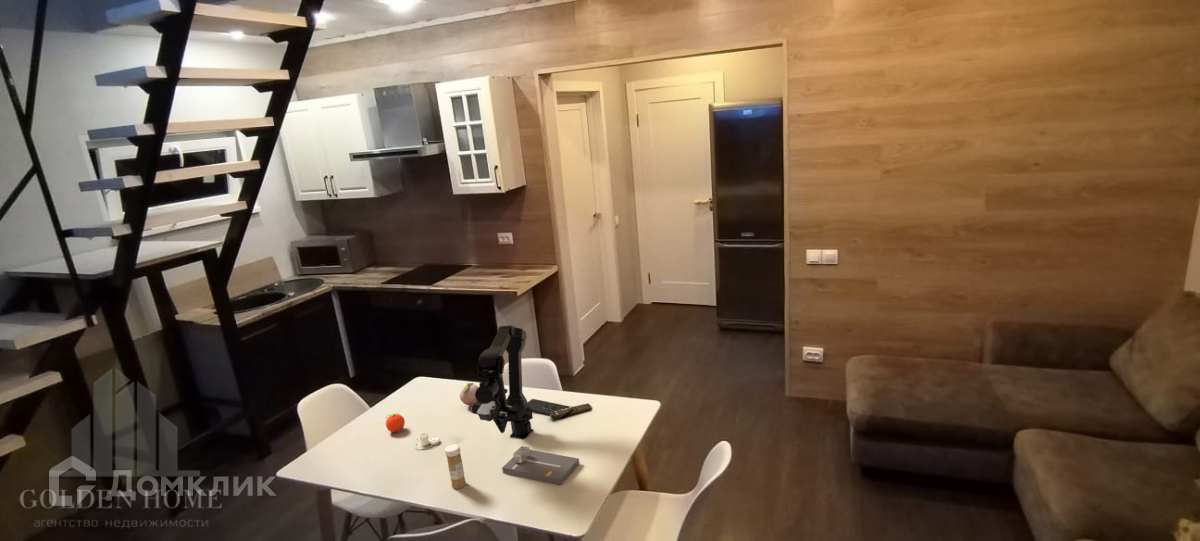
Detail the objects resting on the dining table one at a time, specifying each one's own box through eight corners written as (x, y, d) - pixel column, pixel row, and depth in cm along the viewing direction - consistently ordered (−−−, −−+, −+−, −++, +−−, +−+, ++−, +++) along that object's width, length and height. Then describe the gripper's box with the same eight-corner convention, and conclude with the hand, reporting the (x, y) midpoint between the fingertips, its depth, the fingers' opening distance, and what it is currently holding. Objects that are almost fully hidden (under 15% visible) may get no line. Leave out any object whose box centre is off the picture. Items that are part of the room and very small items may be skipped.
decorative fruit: (480, 409, 235) (476, 387, 232) (460, 411, 235) (456, 389, 232) (484, 399, 244) (481, 377, 241) (465, 401, 244) (461, 379, 242)
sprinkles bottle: (449, 486, 184) (441, 448, 181) (460, 479, 188) (453, 442, 184) (457, 491, 181) (450, 453, 178) (469, 483, 185) (462, 446, 181)
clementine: (381, 434, 223) (378, 417, 221) (394, 425, 229) (390, 409, 228) (398, 436, 220) (394, 419, 218) (410, 427, 226) (406, 410, 225)
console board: (503, 472, 188) (502, 467, 188) (523, 453, 199) (522, 447, 198) (561, 485, 178) (560, 479, 178) (579, 463, 189) (578, 458, 188)
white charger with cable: (443, 441, 213) (441, 431, 213) (428, 453, 207) (426, 442, 206) (424, 438, 217) (423, 428, 216) (410, 449, 210) (408, 439, 209)
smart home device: (560, 416, 219) (519, 407, 230) (560, 420, 220) (520, 411, 231) (572, 406, 226) (532, 398, 237) (573, 410, 227) (533, 401, 237)
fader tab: (514, 462, 190) (513, 453, 189) (522, 453, 194) (521, 446, 193) (522, 463, 188) (520, 455, 188) (530, 455, 193) (529, 447, 192)
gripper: (457, 397, 186) (465, 440, 189) (504, 404, 177) (511, 449, 181) (478, 382, 195) (485, 424, 199) (524, 388, 187) (531, 431, 191)
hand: (502, 432), depth 192 cm, fingers closed
